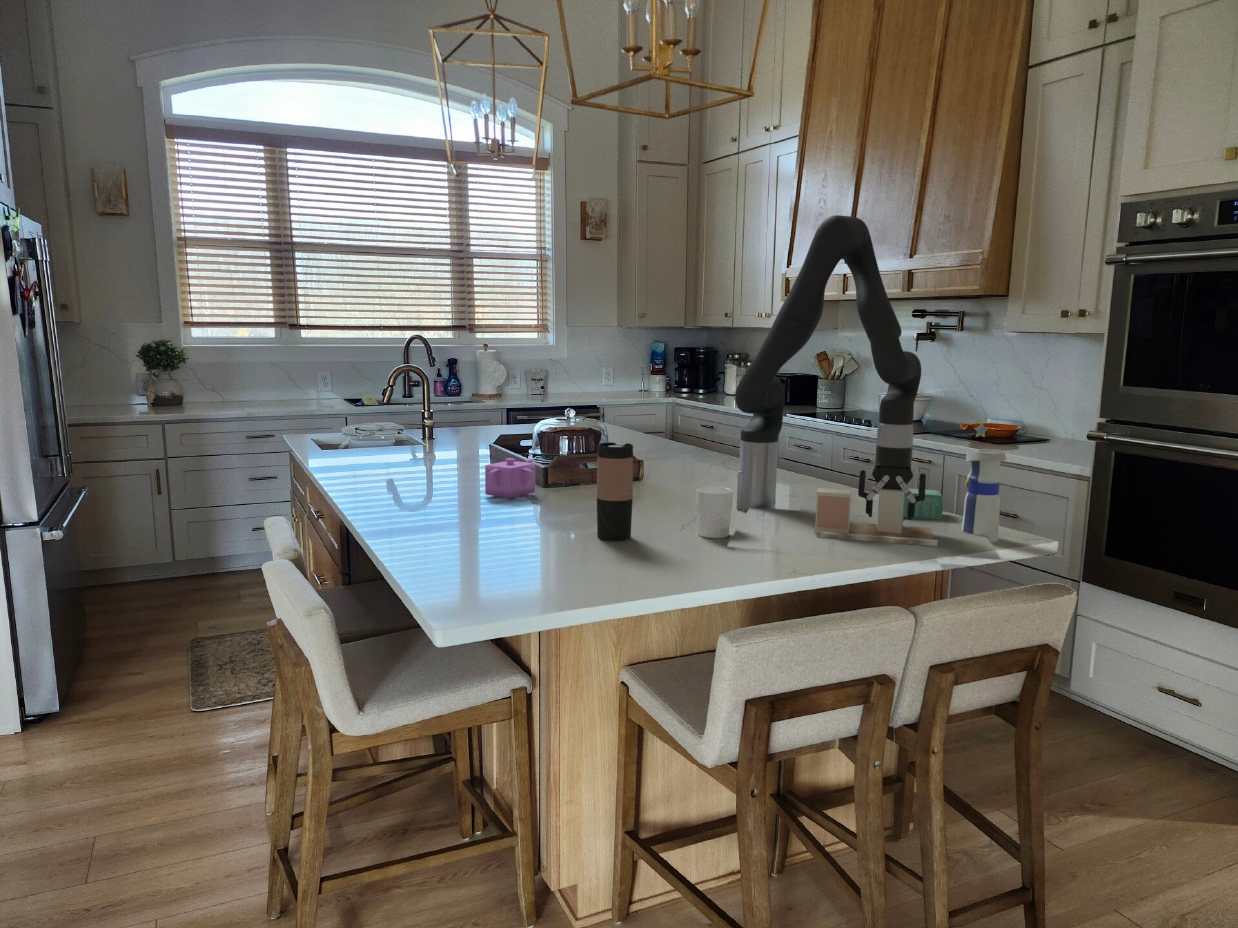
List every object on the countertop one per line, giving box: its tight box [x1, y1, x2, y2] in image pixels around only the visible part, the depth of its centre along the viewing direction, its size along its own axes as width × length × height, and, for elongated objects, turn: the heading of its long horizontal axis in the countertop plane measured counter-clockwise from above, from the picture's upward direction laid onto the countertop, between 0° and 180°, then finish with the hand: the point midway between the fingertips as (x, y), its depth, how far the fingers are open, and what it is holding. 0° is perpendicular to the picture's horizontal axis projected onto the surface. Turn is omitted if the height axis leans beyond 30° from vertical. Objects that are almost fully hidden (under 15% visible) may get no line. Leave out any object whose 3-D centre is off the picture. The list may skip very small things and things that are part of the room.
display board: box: [816, 521, 939, 547], centre depth 188 cm, size 24×17×2 cm
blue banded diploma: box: [961, 422, 1007, 543], centre depth 188 cm, size 8×9×25 cm
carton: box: [876, 488, 905, 533], centre depth 190 cm, size 7×5×9 cm
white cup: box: [696, 486, 734, 539], centre depth 188 cm, size 8×8×10 cm
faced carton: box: [814, 487, 852, 534], centre depth 187 cm, size 7×5×9 cm
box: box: [903, 487, 944, 520], centre depth 207 cm, size 7×14×8 cm, turn 77°
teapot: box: [484, 457, 536, 501], centre depth 228 cm, size 18×14×10 cm
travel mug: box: [596, 442, 634, 542], centre depth 184 cm, size 8×8×20 cm
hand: (889, 517), depth 191 cm, fingers open, 7 cm apart
